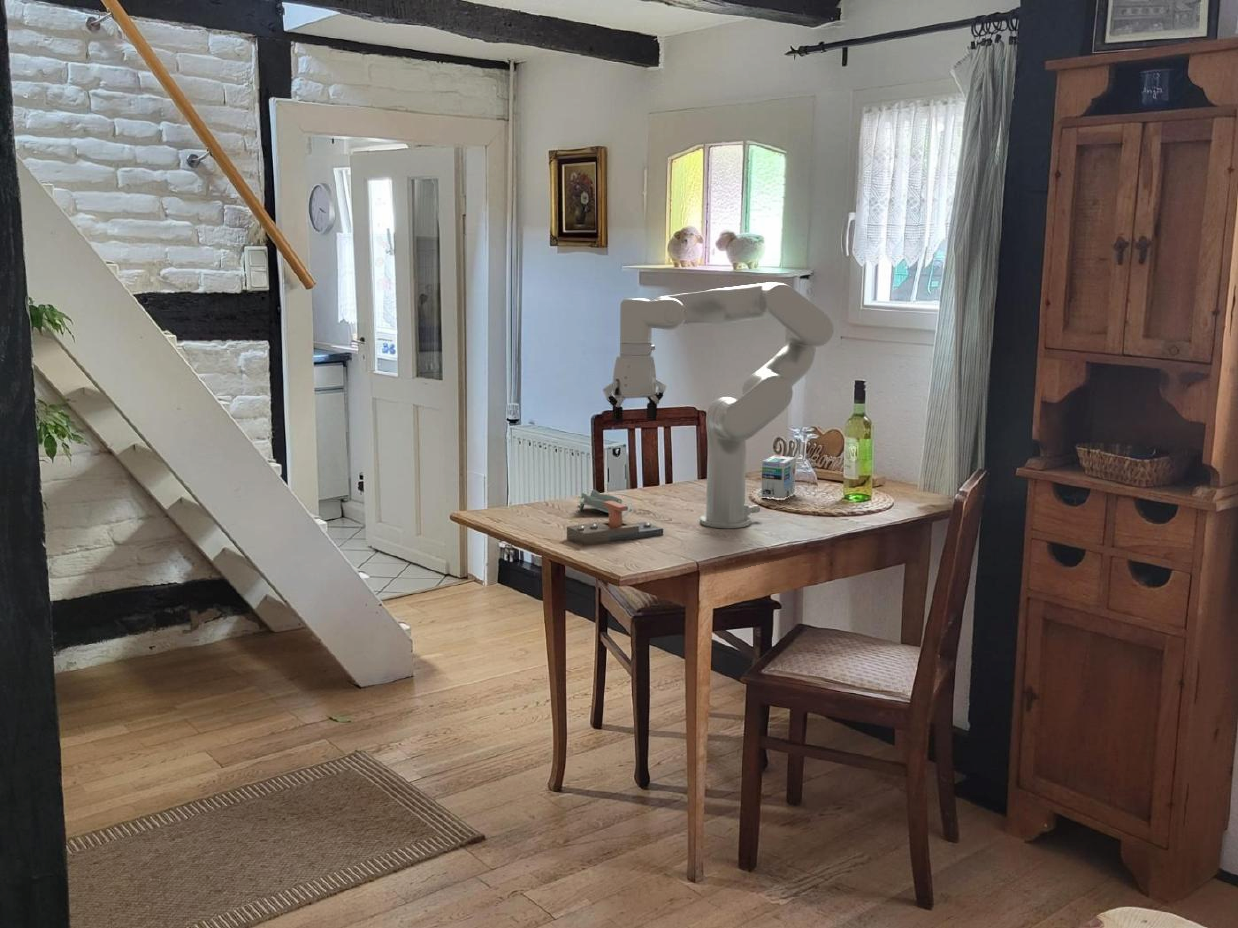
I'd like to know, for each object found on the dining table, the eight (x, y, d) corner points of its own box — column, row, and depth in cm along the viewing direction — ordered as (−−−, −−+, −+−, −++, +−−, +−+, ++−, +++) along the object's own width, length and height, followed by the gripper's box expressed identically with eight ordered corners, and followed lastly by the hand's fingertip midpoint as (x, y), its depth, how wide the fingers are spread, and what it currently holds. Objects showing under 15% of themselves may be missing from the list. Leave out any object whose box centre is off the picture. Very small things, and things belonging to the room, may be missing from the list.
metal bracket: (575, 495, 289) (589, 484, 303) (569, 516, 290) (583, 504, 305) (627, 514, 287) (639, 501, 301) (621, 535, 288) (633, 521, 302)
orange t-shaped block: (613, 532, 273) (613, 500, 272) (629, 539, 267) (629, 505, 266) (602, 534, 272) (602, 501, 270) (617, 540, 266) (617, 507, 264)
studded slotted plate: (645, 527, 279) (645, 513, 278) (663, 534, 272) (663, 520, 271) (566, 538, 267) (566, 524, 266) (583, 546, 260) (583, 531, 260)
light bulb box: (783, 501, 309) (785, 462, 307) (760, 499, 312) (761, 460, 310) (795, 494, 319) (796, 456, 317) (772, 492, 322) (773, 454, 320)
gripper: (656, 348, 279) (656, 417, 282) (596, 350, 270) (596, 422, 273) (674, 350, 273) (673, 420, 276) (613, 353, 264) (612, 426, 267)
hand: (634, 421), depth 274 cm, fingers open, 9 cm apart
